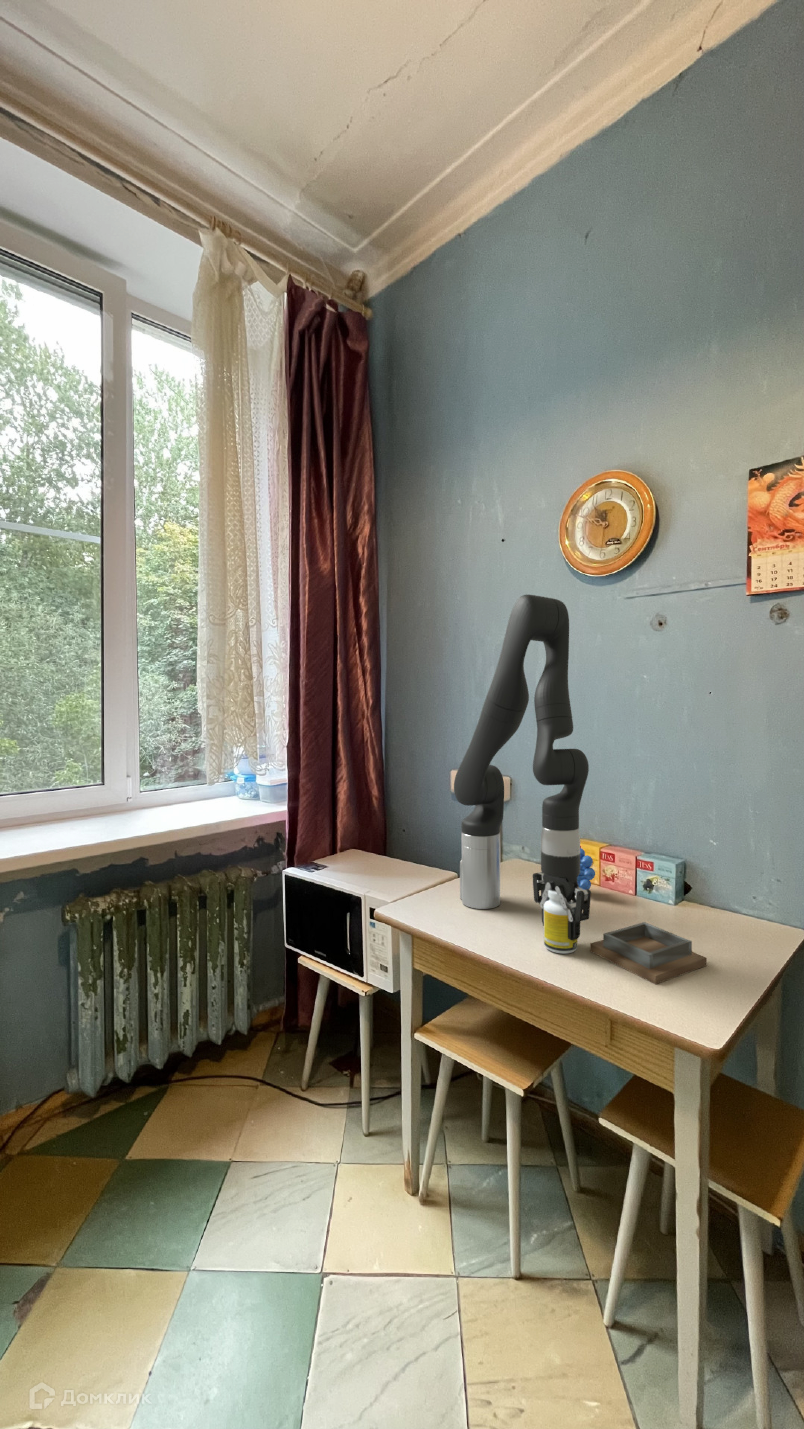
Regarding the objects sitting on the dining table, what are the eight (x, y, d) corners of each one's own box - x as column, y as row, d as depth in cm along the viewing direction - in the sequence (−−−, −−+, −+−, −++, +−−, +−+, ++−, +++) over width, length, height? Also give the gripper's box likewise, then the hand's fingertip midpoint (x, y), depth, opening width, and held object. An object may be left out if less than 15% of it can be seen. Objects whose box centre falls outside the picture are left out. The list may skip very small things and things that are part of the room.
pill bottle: (572, 957, 113) (572, 898, 112) (539, 950, 116) (539, 892, 115) (581, 945, 118) (581, 888, 118) (549, 938, 121) (549, 882, 121)
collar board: (590, 950, 115) (590, 930, 115) (639, 936, 122) (639, 917, 122) (655, 984, 102) (655, 961, 102) (706, 965, 109) (706, 944, 109)
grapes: (606, 897, 144) (606, 849, 144) (587, 903, 141) (587, 853, 141) (570, 884, 155) (571, 839, 154) (551, 889, 151) (551, 843, 151)
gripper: (602, 855, 112) (601, 942, 112) (549, 839, 124) (549, 916, 125) (572, 861, 108) (572, 950, 109) (521, 843, 121) (521, 923, 121)
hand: (560, 932), depth 117 cm, fingers closed on pill bottle, 6 cm apart
